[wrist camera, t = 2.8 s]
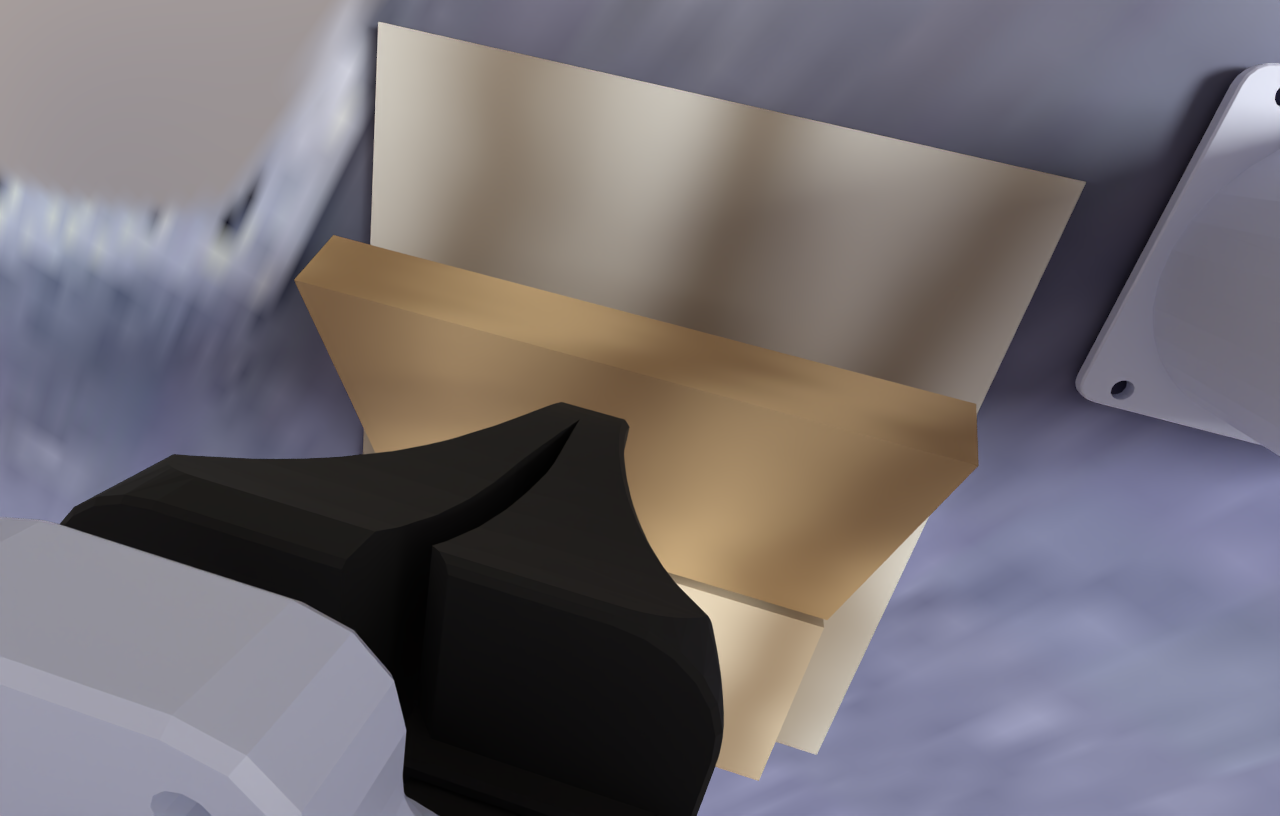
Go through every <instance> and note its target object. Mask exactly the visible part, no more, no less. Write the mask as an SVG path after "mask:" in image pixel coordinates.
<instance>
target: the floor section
mask: <svg viewBox="0 0 1280 816" xmlns="http://www.w3.org/2000/svg"><path fill="white" fill-rule="evenodd" d="M1085 184H1086V182H1084V181H1079V180H1075V179H1070V178H1066V177H1062V176H1057V175H1053V174H1048V173H1044V172H1040V171H1035V170H1031V169H1026V168H1022V167H1018V166H1013V165H1009V164H1004V163H1000V162H995V161H991V160H987V159H982V158H978V157H973V156H969V155H965V154H960V153H956V152H951V151H947V150H942V149H938V148H934V147H929V146H925V145H920V144H916V143H912V142H907V141H903V140H898V139H894V138H889V137H885V136H881V135H876V134H872V133H867V132H863V131H859V130H854V129H850V128H845V127H841V126H837V125H832V124H828V123H823V122H819V121H814V120H810V119H806V118H801V117H797V116H792V115H788V114H784V113H779V112H775V111H770V110H766V109H761V108H757V107H753V106H748V105H744V104H739V103H735V102H731V101H726V100H722V99H717V98H713V97H709V96H704V95H700V94H695V93H691V92H686V91H682V90H678V89H673V88H669V87H664V86H660V85H656V84H651V83H647V82H642V81H638V80H633V79H629V78H625V77H620V76H616V75H611V74H607V73H603V72H598V71H594V70H589V69H585V68H580V67H576V66H572V65H567V64H563V63H558V62H554V61H550V60H545V59H541V58H536V57H532V56H528V55H523V54H519V53H514V52H510V51H505V50H501V49H497V48H492V47H488V46H483V45H479V44H475V43H470V42H466V41H461V40H457V39H452V38H448V37H444V36H439V35H435V34H430V33H426V32H422V31H417V30H413V29H408V28H404V27H399V26H395V25H391V24H386V23H382V22H378V44H377V72H376V100H375V128H374V157H373V185H372V213H371V241H370V245H373V246H377V247H380V248H384V249H388V250H392V251H396V252H399V253H403V254H407V255H411V256H415V257H419V258H422V259H426V260H430V261H434V262H438V263H441V264H445V265H449V266H453V267H457V268H460V269H464V270H468V271H472V272H476V273H480V274H483V275H487V276H491V277H495V278H499V279H502V280H506V281H510V282H514V283H518V284H521V285H525V286H529V287H533V288H537V289H540V290H544V291H548V292H552V293H556V294H560V295H563V296H567V297H571V298H575V299H579V300H582V301H586V302H590V303H594V304H598V305H601V306H605V307H609V308H613V309H617V310H621V311H624V312H628V313H632V314H636V315H640V316H643V317H647V318H651V319H655V320H659V321H662V322H666V323H670V324H674V325H678V326H681V327H685V328H689V329H693V330H697V331H701V332H704V333H708V334H712V335H716V336H720V337H723V338H727V339H731V340H735V341H739V342H742V343H746V344H750V345H754V346H758V347H761V348H765V349H769V350H773V351H777V352H781V353H784V354H788V355H792V356H796V357H800V358H803V359H807V360H811V361H815V362H819V363H822V364H826V365H830V366H834V367H838V368H842V369H845V370H849V371H853V372H857V373H861V374H864V375H868V376H872V377H876V378H880V379H883V380H887V381H891V382H895V383H899V384H902V385H906V386H910V387H914V388H918V389H922V390H925V391H929V392H933V393H937V394H941V395H944V396H948V397H952V398H956V399H960V400H963V401H967V402H971V403H975V404H976V412H977V413H978V411H979V409H980V407H981V405H982V402H983V400H984V398H985V396H986V394H987V392H988V390H989V388H990V385H991V383H992V381H993V379H994V377H995V375H996V373H997V371H998V368H999V366H1000V364H1001V362H1002V360H1003V358H1004V356H1005V354H1006V352H1007V349H1008V347H1009V345H1010V343H1011V341H1012V339H1013V337H1014V335H1015V332H1016V330H1017V328H1018V326H1019V324H1020V322H1021V320H1022V318H1023V315H1024V313H1025V311H1026V309H1027V307H1028V305H1029V303H1030V301H1031V298H1032V296H1033V294H1034V292H1035V290H1036V288H1037V286H1038V284H1039V281H1040V279H1041V277H1042V275H1043V273H1044V271H1045V269H1046V267H1047V264H1048V262H1049V260H1050V258H1051V256H1052V254H1053V252H1054V250H1055V247H1056V245H1057V243H1058V241H1059V239H1060V237H1061V235H1062V233H1063V230H1064V228H1065V226H1066V224H1067V222H1068V220H1069V218H1070V216H1071V213H1072V211H1073V209H1074V207H1075V205H1076V203H1077V201H1078V199H1079V196H1080V194H1081V192H1082V190H1083V188H1084V186H1085ZM371 453H375V451H374V449H373V447H372V445H371V443H370V440H369V438H368V436H367V434H366V432H365V430H364V439H363V454H371ZM927 519H928V518H927ZM927 519H926V520H925V521H924V522H923V523H922V524H921V525H920V526H919V527H918V528H917V529H916V530H915V531H914V532H913V533H912V534H911V535H910V536H909V537H908V538H907V539H906V540H905V541H904V542H903V543H902V544H901V545H900V546H899V547H898V548H897V549H896V550H895V552H894V553H893V554H892V555H891V556H890V557H889V558H888V559H887V560H886V561H885V562H884V563H883V564H882V565H881V566H880V567H879V568H878V569H877V570H876V571H875V572H874V573H873V574H872V575H871V576H870V577H869V578H868V579H867V580H866V581H865V582H864V583H863V584H862V585H861V586H860V587H859V588H858V589H857V590H856V591H855V592H854V593H853V594H852V596H851V597H850V598H849V599H848V600H847V601H846V602H845V603H844V604H843V605H842V606H841V607H840V608H839V609H838V610H837V611H836V612H835V613H834V614H833V615H832V616H831V617H830V618H829V619H828V620H825V619H822V618H818V617H815V616H812V615H808V614H805V613H802V612H798V611H795V610H792V609H788V608H785V607H782V606H778V605H775V604H772V603H768V602H765V601H762V600H758V599H755V598H752V597H748V596H745V595H742V594H738V593H735V592H732V591H728V590H725V589H722V588H718V587H715V586H712V585H708V584H705V583H702V582H698V581H695V580H692V579H688V578H685V577H682V576H678V575H675V574H672V573H668V574H669V575H670V576H671V577H672V579H673V580H674V581H675V583H676V584H677V585H678V586H679V587H680V588H681V589H682V590H683V591H684V592H685V593H686V594H687V595H688V596H689V597H690V598H691V599H692V600H693V601H694V602H695V603H696V604H697V605H698V606H699V607H700V608H701V609H702V610H703V611H704V612H705V613H706V614H707V615H708V616H709V618H710V620H711V622H712V626H713V631H714V636H715V641H716V646H717V652H718V658H719V664H720V671H721V679H722V690H723V705H724V730H723V739H722V745H721V749H720V754H719V758H718V760H717V763H716V766H715V767H718V768H721V769H724V770H727V771H730V772H733V773H736V774H739V775H742V776H745V777H749V778H752V779H755V780H758V781H759V779H760V777H761V774H762V772H763V770H764V767H765V765H766V763H767V760H768V758H769V756H770V753H771V751H772V749H773V746H774V744H775V742H778V743H782V744H785V745H788V746H791V747H794V748H797V749H800V750H803V751H806V752H810V753H813V754H816V755H817V753H818V751H819V749H820V747H821V744H822V742H823V740H824V738H825V736H826V734H827V732H828V730H829V727H830V725H831V723H832V721H833V719H834V717H835V715H836V713H837V710H838V708H839V706H840V704H841V702H842V700H843V698H844V696H845V693H846V691H847V689H848V687H849V685H850V683H851V681H852V679H853V676H854V674H855V672H856V670H857V668H858V666H859V664H860V662H861V659H862V657H863V655H864V653H865V651H866V649H867V647H868V645H869V642H870V640H871V638H872V636H873V634H874V632H875V630H876V628H877V625H878V623H879V621H880V619H881V617H882V615H883V613H884V611H885V608H886V606H887V604H888V602H889V600H890V598H891V596H892V594H893V591H894V589H895V587H896V585H897V583H898V581H899V579H900V577H901V574H902V572H903V570H904V568H905V566H906V564H907V562H908V560H909V558H910V555H911V553H912V551H913V549H914V547H915V545H916V543H917V541H918V538H919V536H920V534H921V532H922V530H923V528H924V526H925V524H926V521H927Z"/></svg>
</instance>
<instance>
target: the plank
mask: <svg viewBox="0 0 1280 816" xmlns="http://www.w3.org/2000/svg"><path fill="white" fill-rule="evenodd" d="M294 281H295V283H296V285H297V287H298V289H299V292H300V294H301V296H302V298H303V300H304V302H305V304H306V306H307V309H308V311H309V313H310V315H311V317H312V319H313V321H314V323H315V326H316V328H317V330H318V332H319V334H320V336H321V338H322V340H323V343H324V345H325V347H326V349H327V351H328V353H329V355H330V357H331V360H332V362H333V364H334V366H335V368H336V370H337V372H338V374H339V377H340V379H341V381H342V383H343V385H344V387H345V389H346V392H347V394H348V396H349V398H350V400H351V402H352V404H353V406H354V409H355V411H356V413H357V415H358V417H359V419H360V421H361V423H362V426H363V428H364V430H365V432H366V434H367V436H368V438H369V440H370V443H371V445H372V447H373V449H374V451H375V453H380V452H388V451H396V450H402V449H407V448H412V447H418V446H423V445H428V444H432V443H437V442H441V441H445V440H449V439H453V438H456V437H459V436H463V435H466V434H469V433H472V432H476V431H479V430H482V429H485V428H489V427H492V426H495V425H498V424H501V423H503V422H506V421H509V420H511V419H514V418H517V417H520V416H522V415H525V414H528V413H530V412H533V411H535V410H538V409H541V408H543V407H546V406H549V405H552V404H555V403H559V402H564V403H567V404H571V405H575V406H578V407H582V408H585V409H589V410H593V411H596V412H600V413H603V414H607V415H611V416H614V417H618V418H621V419H625V420H626V422H627V423H628V425H629V427H630V428H629V432H628V437H627V441H626V445H625V450H624V460H625V469H626V476H627V482H628V486H629V491H630V495H631V499H632V502H633V505H634V509H635V512H636V514H637V517H638V520H639V522H640V525H641V527H642V529H643V531H644V534H645V536H646V538H647V540H648V542H649V544H650V546H651V548H652V549H653V551H654V553H655V554H656V556H657V557H658V559H659V561H660V562H661V564H662V566H663V567H664V568H665V570H666V571H667V572H668V573H672V574H675V575H678V576H682V577H685V578H688V579H692V580H695V581H698V582H702V583H705V584H708V585H712V586H715V587H718V588H722V589H725V590H728V591H732V592H735V593H738V594H742V595H745V596H748V597H752V598H755V599H758V600H762V601H765V602H768V603H772V604H775V605H778V606H782V607H785V608H788V609H792V610H795V611H798V612H802V613H805V614H808V615H812V616H815V617H818V618H822V619H825V620H828V619H829V618H830V617H831V616H832V615H833V614H834V613H835V612H836V611H837V610H838V609H839V608H840V607H841V606H842V605H843V604H844V603H845V602H846V601H847V600H848V599H849V598H850V597H851V596H852V594H853V593H854V592H855V591H856V590H857V589H858V588H859V587H860V586H861V585H862V584H863V583H864V582H865V581H866V580H867V579H868V578H869V577H870V576H871V575H872V574H873V573H874V572H875V571H876V570H877V569H878V568H879V567H880V566H881V565H882V564H883V563H884V562H885V561H886V560H887V559H888V558H889V557H890V556H891V555H892V554H893V553H894V552H895V550H896V549H897V548H898V547H899V546H900V545H901V544H902V543H903V542H904V541H905V540H906V539H907V538H908V537H909V536H910V535H911V534H912V533H913V532H914V531H915V530H916V529H917V528H918V527H919V526H920V525H921V524H922V523H923V522H924V521H925V520H926V519H927V518H928V517H929V516H930V515H931V514H932V513H933V512H934V511H935V510H936V509H937V508H938V506H939V505H940V504H941V503H942V502H943V501H944V500H945V499H946V498H947V497H948V496H949V495H950V494H951V493H952V492H953V491H954V490H955V489H956V488H957V487H958V486H959V485H960V484H961V483H962V482H963V481H964V480H965V479H966V478H967V477H968V476H969V475H970V474H971V473H972V472H973V471H974V470H975V469H976V468H977V467H978V439H977V412H976V404H975V403H971V402H967V401H963V400H960V399H956V398H952V397H948V396H944V395H941V394H937V393H933V392H929V391H925V390H922V389H918V388H914V387H910V386H906V385H902V384H899V383H895V382H891V381H887V380H883V379H880V378H876V377H872V376H868V375H864V374H861V373H857V372H853V371H849V370H845V369H842V368H838V367H834V366H830V365H826V364H822V363H819V362H815V361H811V360H807V359H803V358H800V357H796V356H792V355H788V354H784V353H781V352H777V351H773V350H769V349H765V348H761V347H758V346H754V345H750V344H746V343H742V342H739V341H735V340H731V339H727V338H723V337H720V336H716V335H712V334H708V333H704V332H701V331H697V330H693V329H689V328H685V327H681V326H678V325H674V324H670V323H666V322H662V321H659V320H655V319H651V318H647V317H643V316H640V315H636V314H632V313H628V312H624V311H621V310H617V309H613V308H609V307H605V306H601V305H598V304H594V303H590V302H586V301H582V300H579V299H575V298H571V297H567V296H563V295H560V294H556V293H552V292H548V291H544V290H540V289H537V288H533V287H529V286H525V285H521V284H518V283H514V282H510V281H506V280H502V279H499V278H495V277H491V276H487V275H483V274H480V273H476V272H472V271H468V270H464V269H460V268H457V267H453V266H449V265H445V264H441V263H438V262H434V261H430V260H426V259H422V258H419V257H415V256H411V255H407V254H403V253H399V252H396V251H392V250H388V249H384V248H380V247H377V246H373V245H369V244H365V243H361V242H358V241H354V240H350V239H346V238H342V237H339V236H335V235H333V236H332V237H331V239H330V240H329V241H328V242H327V243H326V244H325V245H324V246H323V248H322V249H321V250H320V251H319V252H318V253H317V254H316V256H315V257H314V258H313V259H312V260H311V261H310V262H309V263H308V265H307V266H306V267H305V268H304V269H303V270H302V271H301V273H300V274H299V275H298V276H297V277H296V278H295V279H294Z"/></svg>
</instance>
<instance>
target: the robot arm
mask: <svg viewBox="0 0 1280 816" xmlns="http://www.w3.org/2000/svg"><path fill="white" fill-rule="evenodd" d="M1279 88H1280V64H1279V63H1265V64H1259V65H1255V66H1253V67H1250V68H1247V69H1246V70H1244V71H1243V72H1242V73H1240V74H1239V75H1238V76H1237V77H1236V78H1235V80H1234V81H1233V82H1232V84H1231V85H1230V87H1229V89H1228V91H1227V92H1226V94H1225V96H1224V98H1223V100H1222V102H1221V104H1220V106H1219V108H1218V109H1217V111H1216V113H1215V115H1214V117H1213V119H1212V121H1211V123H1210V125H1209V127H1208V128H1207V130H1206V132H1205V134H1204V136H1203V138H1202V140H1201V142H1200V144H1199V145H1198V147H1197V149H1196V151H1195V153H1194V155H1193V157H1192V159H1191V161H1190V163H1189V164H1188V166H1187V168H1186V170H1185V172H1184V174H1183V176H1182V178H1181V180H1180V181H1179V183H1178V185H1177V187H1176V189H1175V191H1174V193H1173V195H1172V197H1171V199H1170V200H1169V202H1168V204H1167V206H1166V208H1165V210H1164V212H1163V214H1162V216H1161V218H1160V219H1159V221H1158V223H1157V225H1156V227H1155V229H1154V231H1153V233H1152V235H1151V236H1150V238H1149V240H1148V242H1147V244H1146V246H1145V248H1144V250H1143V252H1142V254H1141V255H1140V257H1139V259H1138V261H1137V263H1136V265H1135V267H1134V269H1133V271H1132V272H1131V274H1130V276H1129V278H1128V280H1127V282H1126V284H1125V286H1124V288H1123V290H1122V291H1121V293H1120V295H1119V297H1118V299H1117V301H1116V303H1115V305H1114V307H1113V308H1112V310H1111V312H1110V314H1109V316H1108V318H1107V320H1106V322H1105V324H1104V326H1103V327H1102V329H1101V331H1100V333H1099V335H1098V337H1097V339H1096V341H1095V343H1094V345H1093V346H1092V348H1091V350H1090V352H1089V354H1088V356H1087V358H1086V360H1085V362H1084V363H1083V365H1082V367H1081V369H1080V371H1079V373H1078V375H1077V378H1076V381H1075V384H1076V389H1077V390H1078V392H1079V393H1080V394H1081V395H1082V396H1083V397H1084V398H1086V399H1088V400H1090V401H1092V402H1096V403H1099V404H1103V405H1107V406H1111V407H1115V408H1119V409H1123V410H1127V411H1130V412H1134V413H1138V414H1142V415H1146V416H1150V417H1154V418H1158V419H1161V420H1165V421H1169V422H1173V423H1177V424H1181V425H1185V426H1189V427H1193V428H1196V429H1200V430H1204V431H1208V432H1212V433H1216V434H1220V435H1224V436H1227V437H1231V438H1235V439H1239V440H1243V441H1247V442H1251V443H1255V444H1258V445H1262V446H1264V447H1266V448H1267V449H1269V450H1270V451H1272V452H1274V453H1275V454H1277V455H1278V456H1280V106H1278V105H1277V104H1276V101H1275V95H1276V91H1277V90H1278V89H1279ZM1120 381H1127V385H1126V388H1125V389H1124V390H1123V391H1122V392H1120V393H1118V394H1111V389H1112V387H1113V386H1114V385H1115V383H1117V382H1120ZM629 428H630V427H629V425H628V423H627V422H626V420H625V419H621V418H618V417H614V416H611V415H607V414H603V413H600V412H596V411H593V410H589V409H585V408H582V407H578V406H575V405H571V404H567V403H564V402H559V403H555V404H552V405H549V406H546V407H543V408H541V409H538V410H535V411H533V412H530V413H528V414H525V415H522V416H520V417H517V418H514V419H511V420H509V421H506V422H503V423H501V424H498V425H495V426H492V427H489V428H485V429H482V430H479V431H476V432H472V433H469V434H466V435H463V436H459V437H456V438H453V439H449V440H445V441H441V442H437V443H432V444H428V445H423V446H418V447H412V448H407V449H402V450H396V451H388V452H380V453H371V454H362V455H353V456H344V457H331V458H310V459H246V458H226V457H205V456H188V455H176V454H174V455H171V456H169V457H168V458H166V459H164V460H162V461H160V462H158V463H156V464H154V465H153V466H151V467H149V468H147V469H145V470H143V471H141V472H139V473H137V474H136V475H134V476H132V477H130V478H128V479H126V480H124V481H122V482H120V483H119V484H117V485H115V486H113V487H111V488H109V489H107V490H105V491H104V492H102V493H100V494H98V495H96V496H94V497H92V498H90V499H88V500H87V501H85V502H83V503H81V504H79V505H77V506H75V507H74V508H73V509H72V510H71V511H70V513H69V514H68V515H67V516H66V517H65V518H64V520H63V521H62V522H61V523H60V524H57V523H53V522H48V521H44V520H34V519H20V518H7V517H0V816H697V813H698V811H699V808H700V805H701V803H702V800H703V797H704V795H705V792H706V789H707V787H708V784H709V782H710V779H711V776H712V774H713V771H714V768H715V766H716V763H717V760H718V758H719V754H720V749H721V745H722V739H723V730H724V705H723V690H722V679H721V671H720V664H719V658H718V652H717V646H716V641H715V636H714V631H713V626H712V622H711V620H710V618H709V616H708V615H707V614H706V613H705V612H704V611H703V610H702V609H701V608H700V607H699V606H698V605H697V604H696V603H695V602H694V601H693V600H692V599H691V598H690V597H689V596H688V595H687V594H686V593H685V592H684V591H683V590H682V589H681V588H680V587H679V586H678V585H677V584H676V583H675V581H674V580H673V579H672V577H671V576H670V575H669V574H668V572H667V571H666V570H665V568H664V567H663V566H662V564H661V562H660V561H659V559H658V557H657V556H656V554H655V553H654V551H653V549H652V548H651V546H650V544H649V542H648V540H647V538H646V536H645V534H644V531H643V529H642V527H641V525H640V522H639V520H638V517H637V514H636V512H635V509H634V505H633V502H632V499H631V495H630V491H629V486H628V482H627V476H626V469H625V460H624V450H625V445H626V441H627V437H628V432H629Z"/></svg>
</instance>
